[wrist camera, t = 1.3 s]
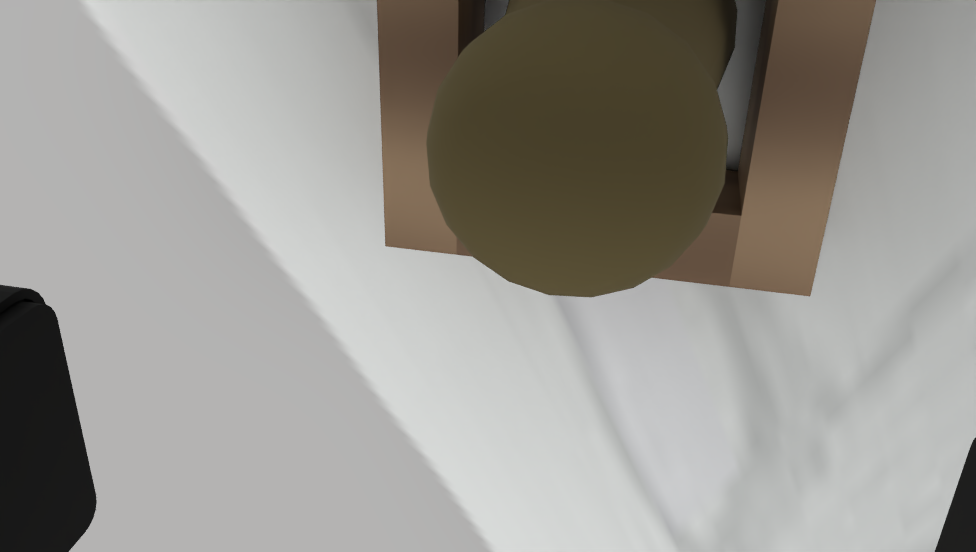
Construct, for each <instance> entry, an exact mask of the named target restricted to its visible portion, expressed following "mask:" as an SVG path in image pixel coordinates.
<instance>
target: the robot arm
mask: <svg viewBox="0 0 976 552" xmlns="http://www.w3.org/2000/svg"><path fill="white" fill-rule="evenodd" d="M95 510H96V493H95V489H94V484H93V479H92V475H91V471H90V466H89V461H88V456H87V452H86V447H85V443H84V438H83V434H82V429H81V425H80V421H79V415H78V411H77V406H76V402H75V397H74V393H73V389H72V384H71V380H70V375H69V370H68V366H67V361H66V356H65V352H64V347H63V343H62V338H61V333H60V329H59V325H58V320H57V317H56V314H55V312H54V310H52V308H51V307H50V306H48V305H46V304H45V302H44V299H43V298H42V297H41V296H40V294H39V293H38V292H35V291H34V290H32V289H27V288H19V287H12V286H4V285H0V552H69V550H70V549H71V548H72V547H73V546H74V545H75V543H76V542H77V541H78V540H79V539H80V537H81V536H82V535H83V534H84V533H85V532H86V530H87V529H88V527H89V525H90V523H91V521H92V519H93V517H94V513H95ZM935 552H976V438H975V439H974V440H973V442H972V445H971V447H970V450H969V453H968V456H967V459H966V462H965V464H964V467H963V470H962V473H961V476H960V479H959V482H958V485H957V488H956V491H955V494H954V497H953V500H952V503H951V506H950V509H949V512H948V515H947V518H946V520H945V523H944V526H943V529H942V532H941V535H940V538H939V541H938V544H937V547H936V550H935Z"/></svg>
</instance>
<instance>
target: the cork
mask: <svg viewBox="0 0 976 552" xmlns="http://www.w3.org/2000/svg"><path fill="white" fill-rule="evenodd" d="M736 21H737V7H736V3H735V0H509V3H508V7H507V11H506V14H505V16H504V17H502V18H501V19H500V20H499V21H497V22H496V23H495V24H493V25H492V26H491V27H490V28H488V29H487V30H486V31H485V32H483V33H482V34H481V35H479V36H478V37H477V38H476V39H474V40H473V41H472V42H471V43H470V44H469V45H468V46H467V47H466V48H465V49H464V50H463V51H462V52H461V53H460V55H459V57H458V58H457V60H456V61H455V63H454V64H453V66H452V67H451V69H450V71H449V72H448V74H447V75H446V77H445V78H444V80H443V82H442V83H441V85H440V86H439V88H438V90H437V94H436V98H435V102H434V106H433V110H432V115H431V119H430V123H429V127H428V131H427V141H426V146H427V157H428V169H429V180H430V187H431V189H432V192H433V194H434V197H435V199H436V201H437V204H438V206H439V208H440V211H441V213H442V216H443V218H444V220H445V223H446V225H447V226H448V227H449V228H450V230H451V231H452V232H453V233H454V234H455V236H456V237H457V238H458V239H459V241H460V242H461V243H462V244H463V245H464V247H465V248H466V249H467V250H468V251H469V253H470V254H471V255H472V256H473V257H474V258H475V259H477V260H478V261H480V262H481V263H483V264H484V265H485V266H487V267H488V268H490V269H491V270H493V271H494V272H496V273H497V274H499V275H500V276H502V277H503V278H504V279H506V280H507V281H509V282H512V283H515V284H518V285H521V286H524V287H527V288H530V289H533V290H536V291H539V292H542V293H545V294H548V295H559V296H577V297H595V296H599V295H604V294H608V293H613V292H617V291H621V290H626V289H630V288H634V287H636V286H637V285H639V284H641V283H643V282H644V281H646V280H648V279H650V278H651V277H653V276H655V275H657V274H658V273H660V272H662V271H664V270H665V269H667V268H669V267H671V266H672V265H673V263H674V262H675V261H676V260H677V259H678V258H679V257H680V256H681V255H682V254H683V252H684V251H685V250H686V249H687V248H688V247H689V246H690V245H691V244H692V243H693V242H694V240H695V239H696V238H697V237H698V236H699V235H700V234H701V232H702V231H703V229H704V228H705V226H706V225H707V223H708V220H709V218H710V216H711V214H712V211H713V209H714V207H715V204H716V202H717V200H718V198H719V195H720V193H721V191H722V188H723V186H724V184H725V171H726V158H727V144H728V133H727V125H726V122H725V118H724V115H723V111H722V107H721V104H720V100H719V96H718V93H717V88H718V86H719V84H720V82H721V79H722V77H723V74H724V72H725V70H726V67H727V65H728V62H729V60H730V57H731V55H732V52H733V50H734V48H735V35H736Z"/></svg>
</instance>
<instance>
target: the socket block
mask: <svg viewBox="0 0 976 552" xmlns="http://www.w3.org/2000/svg"><path fill="white" fill-rule="evenodd" d="M875 3H876V0H766V4H765V10H764V16H763V22H762V28H761V34H760V40H759V46H758V52H757V58H756V64H755V70H754V76H753V83H752V89H751V95H750V101H749V107H748V113H747V119H746V125H745V131H744V137H743V143H742V149H741V155H740V161H739V167H738V171H730V170H726V171H725V184H724V186H723V188H722V191H721V193H720V195H719V198H718V200H717V202H716V204H715V207H714V209H713V211H712V214H711V216H710V218H709V220H708V223H707V225H706V226H705V228H704V229H703V231H702V232H701V234H700V235H699V236H698V237H697V238H696V239H695V240H694V242H693V243H692V244H691V245H690V246H689V247H688V248H687V249H686V250H685V251H684V252H683V254H682V255H681V256H680V257H679V258H678V259H677V260H676V261H675V262H674V263H673V265H672V266H671V267H669V268H667V269H665V270H664V271H662V272H660V273H658V274H657V275H655V276H653V277H651V278H660V279H668V280H677V281H685V282H694V283H702V284H711V285H719V286H728V287H736V288H744V289H753V290H761V291H770V292H778V293H787V294H795V295H804V296H810V295H811V290H812V286H813V281H814V277H815V272H816V268H817V263H818V259H819V254H820V250H821V245H822V241H823V236H824V232H825V227H826V223H827V218H828V214H829V209H830V205H831V200H832V196H833V191H834V187H835V182H836V178H837V173H838V169H839V164H840V160H841V155H842V151H843V146H844V142H845V137H846V133H847V128H848V124H849V119H850V115H851V110H852V106H853V101H854V97H855V92H856V88H857V83H858V79H859V74H860V70H861V65H862V61H863V56H864V52H865V47H866V43H867V38H868V34H869V29H870V25H871V20H872V16H873V11H874V7H875ZM484 4H485V0H377V14H378V43H379V72H380V102H381V131H382V160H383V189H384V218H385V246H389V247H397V248H405V249H414V250H422V251H431V252H439V253H448V254H456V255H465V256H472V255H471V254H470V253H469V251H468V250H467V249H466V248H465V247H464V245H463V244H462V243H461V242H460V241H459V239H458V238H457V237H456V236H455V234H454V233H453V232H452V231H451V230H450V228H449V227H448V226H447V225H446V223H445V220H444V218H443V216H442V213H441V211H440V208H439V206H438V204H437V201H436V199H435V197H434V194H433V192H432V189H431V187H430V180H429V169H428V157H427V146H426V141H427V131H428V127H429V123H430V119H431V115H432V110H433V106H434V102H435V98H436V94H437V90H438V88H439V86H440V85H441V83H442V82H443V80H444V78H445V77H446V75H447V74H448V72H449V71H450V69H451V67H452V66H453V64H454V63H455V61H456V60H457V58H458V57H459V55H460V53H461V52H462V51H463V50H464V49H465V48H466V47H467V46H468V45H469V44H470V43H471V42H472V41H473V40H474V39H476V38H477V37H478V36H479V35H481V34H482V33H483V32H484Z"/></svg>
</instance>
